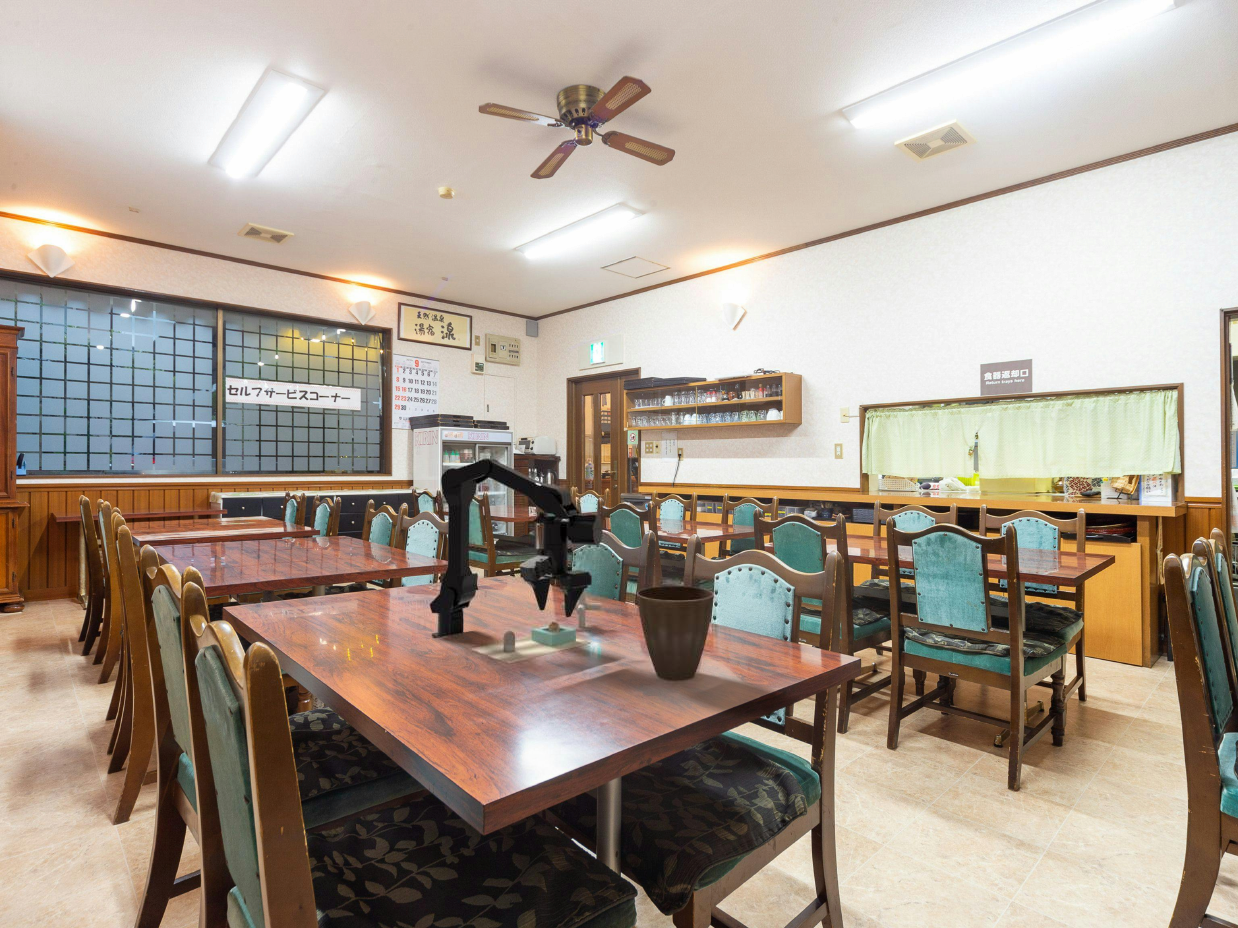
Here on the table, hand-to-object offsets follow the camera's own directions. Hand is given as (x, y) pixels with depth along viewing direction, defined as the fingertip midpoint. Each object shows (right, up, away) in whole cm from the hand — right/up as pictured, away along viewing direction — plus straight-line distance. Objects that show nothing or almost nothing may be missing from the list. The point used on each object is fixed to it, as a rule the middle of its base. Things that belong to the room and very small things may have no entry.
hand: (554, 613), depth 143 cm
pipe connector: (+5, -8, +19) cm, 21 cm away
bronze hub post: (0, -6, 0) cm, 6 cm away
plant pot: (+25, -8, -19) cm, 32 cm away
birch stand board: (-4, -8, -4) cm, 10 cm away
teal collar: (0, -6, 0) cm, 6 cm away
